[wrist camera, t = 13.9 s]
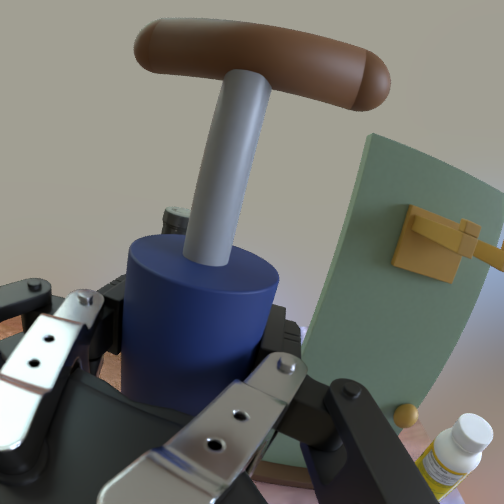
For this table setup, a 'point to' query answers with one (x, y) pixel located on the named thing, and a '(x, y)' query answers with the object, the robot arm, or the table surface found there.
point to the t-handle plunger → (222, 205)
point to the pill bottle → (454, 454)
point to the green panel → (397, 286)
